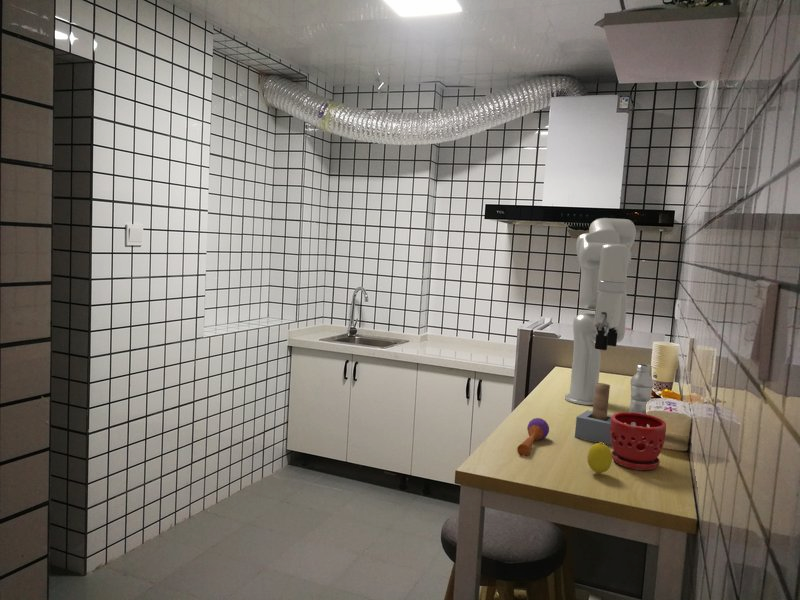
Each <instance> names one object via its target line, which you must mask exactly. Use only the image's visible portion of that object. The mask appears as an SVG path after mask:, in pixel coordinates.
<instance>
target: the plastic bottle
mask: <svg viewBox="0 0 800 600" xmlns="http://www.w3.org/2000/svg"><path fill="white" fill-rule="evenodd" d="M650 373H651V365H649V364H643V363H638V364H637V366H636V373H634V375H633V376H632V377H631V379H630V404H629V408H628V412H634V413H642V414H646V404H647V402H648V401H649V400H650V401H651V397H652V392H653V388H654V384H655V383H654V380H653V378H652V377H651V375H650ZM631 425H633V426H636V423H635V422H632V423H631ZM640 427H642V426H640Z"/></svg>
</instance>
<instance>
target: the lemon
mask: <svg viewBox="0 0 800 600" xmlns="http://www.w3.org/2000/svg"><path fill="white" fill-rule="evenodd" d="M611 452H612V450H611V449H610V447H609V445H606V444H603V443H602V442H599V443H597V442H595V443H594V444H593V445H591V446H590V448H589V450H588V452H587V463H588V464H587V465H588V466H589V468H590V469H591V470H592V471H593V472H595V474H596V475H598V474H599V475H601V474H603V473H605V472H607V471H609V469H610V468H611V466H612V461H613V458H612V455H611Z"/></svg>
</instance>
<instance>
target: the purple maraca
mask: <svg viewBox="0 0 800 600" xmlns="http://www.w3.org/2000/svg"><path fill="white" fill-rule="evenodd" d="M526 430H527V434H528V435H529V437H528V438H526V439H525V440H523V442H521V443H520V444H519V445H518V446H517V449H516V451H517V453H518V455H520V456H523V455H524V456H523V457H528V456H529V455H530V454H531V450H532V447H533V444H534V441H538V440H539V439H540V440H543V439H545V438H547V436H548V435H549V432H550V426H549V424H548V423H547V421H546V420H544V419H543V418H539V417H535V418H532V419H531V420H530V421H529V422H528V425H527V429H526ZM540 440H539V441H540Z"/></svg>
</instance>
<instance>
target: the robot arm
mask: <svg viewBox="0 0 800 600" xmlns="http://www.w3.org/2000/svg"><path fill="white" fill-rule="evenodd" d="M636 235H637V230H636V226H635V224H634V222H633V221H632V220H630V219H626V218H612V217H610V218H608V217H602V218H601V217H600V218H596V219H595V220H593V221H592V222H591V224H590V226H589V228H588V232H586V233H582V234H580V235H579V236H578V237H577V238H576V239H577V240H576V246H575V247H576V256H577V260H578V261H579V262H578V263H579V265H580V282H579V283H580V286H579V304H580V307H581V308H583V309H585V310H592V311H594V313H588V312H587V313H586V312H585V313H580V314H577V315H576V316H575V317H574V319H573V323H572V325H573V326H572V328H573V331H572V332H573V351H572V352H573V353H572V364H571V373H570V374H571V375H570V377H571V378H570V385H569V393H566V394H565V395H564V400H566V401H568V402H570V403H573V404H577V405H585V406H593V403H594V393H595V384H596V383H600V380H599V379H600V370H601V359H602V354H601V351H607V350H608V346H609V347H616V346H617V343H620V342H622V341H623V339H624V337H625V332H626V321H627V319H626V318H627V303H628V295H627V289H626V288H627V278H628V277H627V276H628V268H629V267H628V266H629V265H630V264H631V262H632V261H631V260H632V251H631V248H632V246H633V245H634V242H635V239H636Z"/></svg>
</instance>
